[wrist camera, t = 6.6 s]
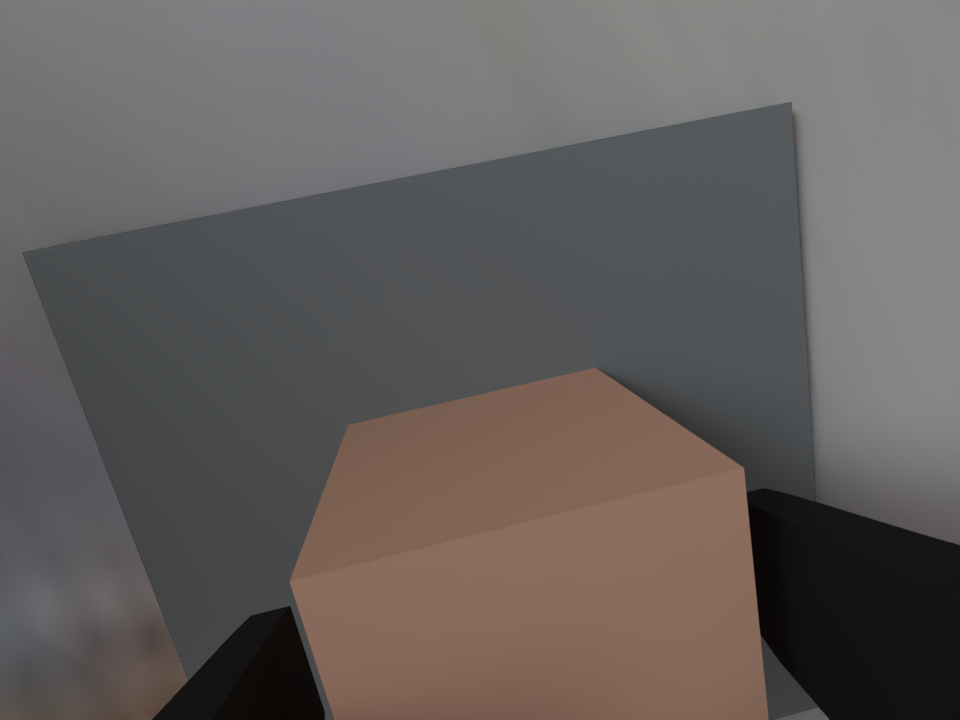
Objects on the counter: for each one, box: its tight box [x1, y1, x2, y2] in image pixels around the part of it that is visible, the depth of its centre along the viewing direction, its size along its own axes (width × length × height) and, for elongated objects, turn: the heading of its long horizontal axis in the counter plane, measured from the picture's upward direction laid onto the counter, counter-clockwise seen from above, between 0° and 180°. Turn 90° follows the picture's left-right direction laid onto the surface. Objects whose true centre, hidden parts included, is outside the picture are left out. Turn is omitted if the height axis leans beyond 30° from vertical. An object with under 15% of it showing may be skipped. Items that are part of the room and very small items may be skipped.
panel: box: [23, 102, 818, 720], centre depth 11 cm, size 14×14×1 cm
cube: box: [289, 368, 769, 720], centre depth 9 cm, size 5×5×5 cm
